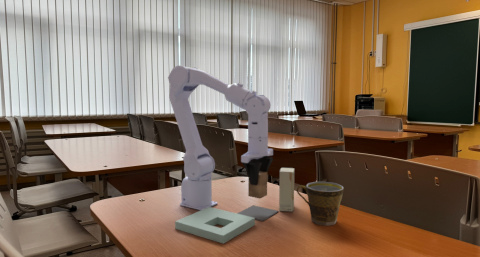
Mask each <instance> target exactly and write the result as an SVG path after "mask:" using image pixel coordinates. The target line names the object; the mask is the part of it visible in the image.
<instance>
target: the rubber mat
mask: <svg viewBox="0 0 480 257" xmlns="http://www.w3.org/2000/svg"><path fill="white" fill-rule="evenodd" d="M236 213H237V214H241V215H245V216H249V217H253V218H255V221H260V222H264V221H266V220H267V219H269V218H271V217H273V216H275V215H276V214H277V213H279V210H277V209H276V210H275V209H271V208H267V207H261V206H259V205H251V206H248V207H247V208H245V209H243V210H241V211H239V212H236Z"/></svg>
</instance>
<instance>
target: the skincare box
mask: <svg viewBox="0 0 480 257" xmlns="http://www.w3.org/2000/svg"><path fill="white" fill-rule="evenodd" d="M278 178H279V182H278V183H279V191H278V192H279V194H278V195H279V200H278V201H279V202H278V204H279V205H278V212H279V211H281V212H294V208H295V168H293V167H281V168H280V169H279V177H278Z"/></svg>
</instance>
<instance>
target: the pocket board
mask: <svg viewBox="0 0 480 257" xmlns="http://www.w3.org/2000/svg"><path fill="white" fill-rule="evenodd" d="M237 213H238V212H232V211H228V210H225V209H220V208H215V207H213V206H211V207H208V208H205V209H203V210H198V211H196V212H194V213H191V214H189V215H187V216H185V217H182V218H179V219H177V220H175V222H174V226H175V229H176V230H177V231H181V232H185V233H187V234H192V235H194V236H197V237H201V238H204V239H207V240H211V241H214V242H215V243H216V242H217V243H220V244H225V243H227V242H229V241H230V240H233V239H234V238H235V237H237V236H238V235H240V234H242V233H244V232H246V231H247V230H249V229H250V228H252V227H254V226H255V225H256V220H255V218H253V217H249V216H245V215H241V214H237ZM216 225H220V226H223V227H218V226H216Z"/></svg>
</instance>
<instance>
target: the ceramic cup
mask: <svg viewBox="0 0 480 257" xmlns="http://www.w3.org/2000/svg"><path fill="white" fill-rule="evenodd" d="M300 188H301V189H303V190H305V192H306V194H307V195H306V196H307V199H306V198H305V196H303V195H302V194H301V193H300V192H299V189H300ZM344 189H345V188H344V186H343V185H341V184H339V183H336V182H331V181H313V182H308V183H307V184H306V185H299V186H297V189H296V193H297V195H299V196H300V197H301V198H302V199H303V200H304V202H305V203H307V205H308V208H309V212H310V219H311V221H312V222H313V223H314V224H315V225H318V226H325V227H327V226H329V227H330V226H334V225H335V224H336V223H337V221H338V216H339V211H340V206H341V201H342V199H343V194H344Z"/></svg>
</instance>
